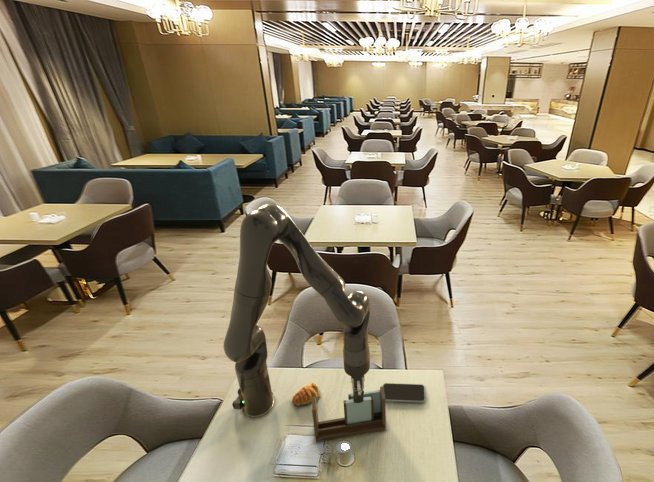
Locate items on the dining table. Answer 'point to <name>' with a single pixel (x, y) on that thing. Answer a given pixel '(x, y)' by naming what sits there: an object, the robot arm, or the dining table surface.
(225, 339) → the robot arm
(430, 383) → the dining table surface
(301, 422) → the dining table surface
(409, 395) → the smartphone
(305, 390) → the pastry
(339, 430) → the window frame
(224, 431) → the dining table surface
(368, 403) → the sash
